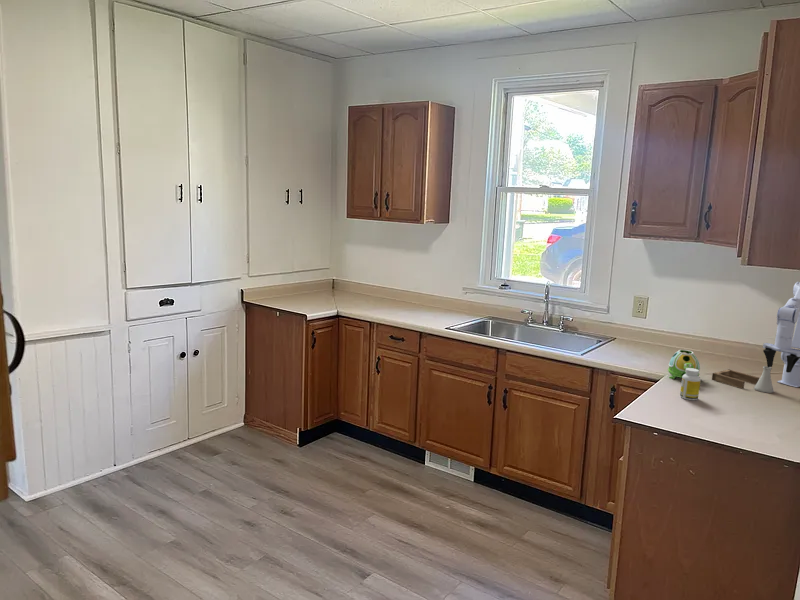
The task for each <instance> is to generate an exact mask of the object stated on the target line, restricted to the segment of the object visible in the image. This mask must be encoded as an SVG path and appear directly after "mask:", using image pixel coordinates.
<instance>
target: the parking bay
mask: <svg viewBox="0 0 800 600" xmlns="http://www.w3.org/2000/svg"><path fill="white" fill-rule="evenodd" d="M759 379H760V377H759V376H754V375H752V374H747V373H744V372H741V371H740V372H739V371H737V370H733V369H730V368H729V369H728V368H727V369H725V370H721V371H717V372H713V373H712V375H711V381H714V382H718V383H722V384H725V385H729V386H732V387H736V388H738V389H742V390H743V389H745V385H746V384H745V383H749V384H752V385H754V386H755V385H756V384H757V382H758V381H759Z"/></svg>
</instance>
